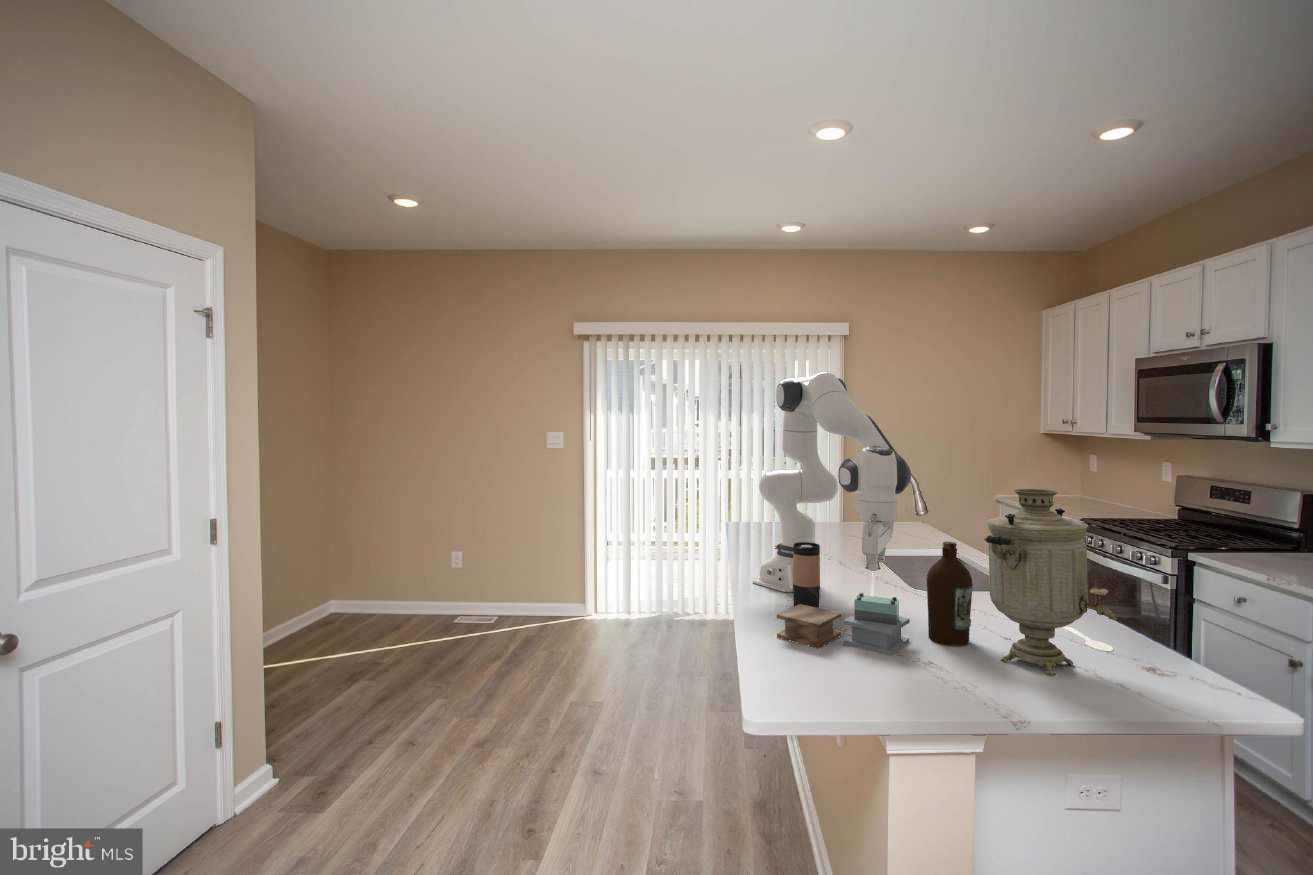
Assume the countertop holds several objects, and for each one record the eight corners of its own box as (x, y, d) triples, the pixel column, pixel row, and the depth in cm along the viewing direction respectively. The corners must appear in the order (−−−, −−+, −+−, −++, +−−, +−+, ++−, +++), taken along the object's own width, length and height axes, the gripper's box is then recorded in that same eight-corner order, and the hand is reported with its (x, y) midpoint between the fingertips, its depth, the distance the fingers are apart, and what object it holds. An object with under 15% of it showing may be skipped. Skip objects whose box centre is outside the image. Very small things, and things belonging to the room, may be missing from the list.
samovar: (1041, 700, 127) (1045, 502, 126) (948, 653, 152) (950, 488, 151) (1153, 683, 135) (1158, 496, 133) (1047, 641, 160) (1050, 483, 159)
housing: (854, 619, 159) (854, 597, 159) (857, 613, 164) (857, 592, 164) (896, 625, 155) (896, 602, 155) (898, 619, 159) (899, 597, 159)
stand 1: (776, 637, 164) (776, 614, 163) (799, 625, 173) (799, 603, 172) (819, 648, 156) (819, 624, 155) (841, 635, 165) (841, 612, 164)
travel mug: (817, 609, 187) (817, 542, 186) (821, 617, 179) (822, 547, 179) (791, 608, 188) (791, 541, 187) (794, 616, 180) (794, 547, 179)
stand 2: (843, 643, 159) (843, 620, 159) (863, 631, 168) (863, 609, 168) (890, 655, 151) (891, 630, 151) (909, 641, 160) (909, 618, 160)
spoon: (1075, 628, 171) (1075, 626, 171) (1120, 653, 153) (1120, 650, 153) (1054, 627, 171) (1054, 625, 171) (1097, 652, 153) (1097, 650, 153)
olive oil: (917, 637, 163) (918, 541, 162) (941, 630, 169) (942, 536, 168) (956, 650, 154) (957, 548, 153) (980, 641, 160) (981, 543, 159)
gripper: (883, 519, 148) (882, 577, 148) (897, 506, 165) (896, 558, 166) (855, 517, 151) (854, 574, 151) (872, 504, 168) (872, 556, 169)
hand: (876, 566), depth 159 cm, fingers open, 8 cm apart
